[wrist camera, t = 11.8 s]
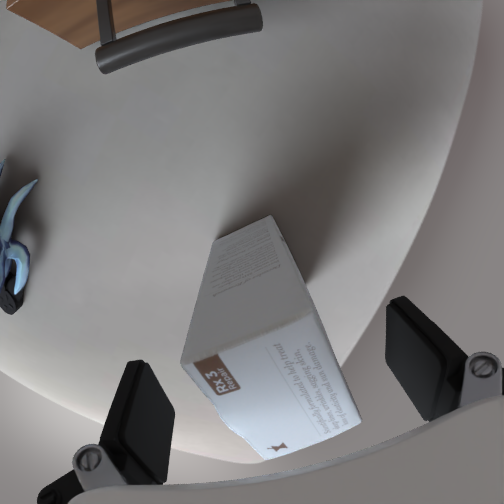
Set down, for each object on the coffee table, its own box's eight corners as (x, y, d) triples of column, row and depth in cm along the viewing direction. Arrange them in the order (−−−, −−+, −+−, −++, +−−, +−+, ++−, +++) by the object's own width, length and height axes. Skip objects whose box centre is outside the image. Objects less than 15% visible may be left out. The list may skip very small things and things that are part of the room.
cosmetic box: (306, 287, 21) (374, 424, 9) (248, 315, 21) (266, 465, 10) (269, 208, 19) (329, 302, 7) (204, 240, 19) (173, 369, 8)
